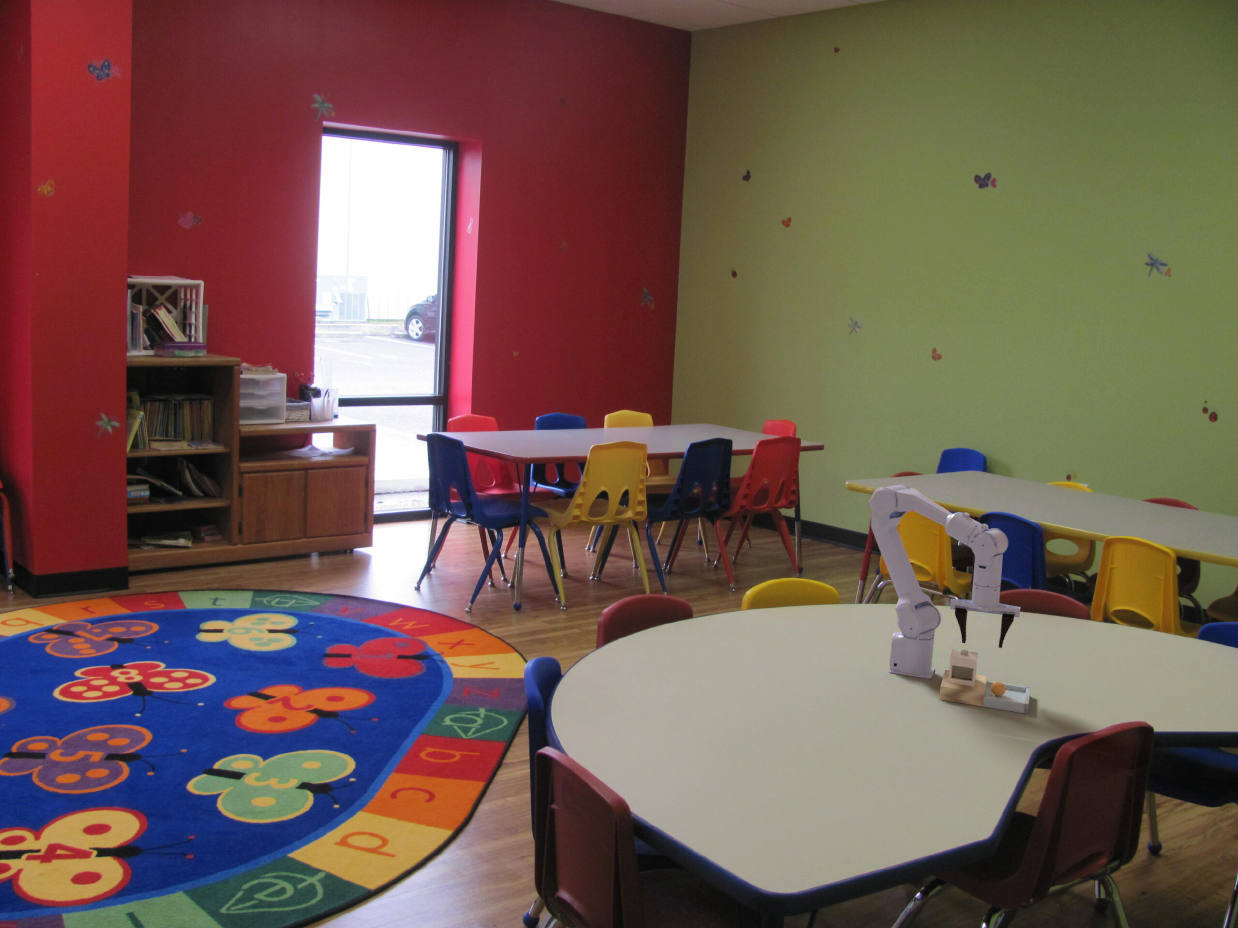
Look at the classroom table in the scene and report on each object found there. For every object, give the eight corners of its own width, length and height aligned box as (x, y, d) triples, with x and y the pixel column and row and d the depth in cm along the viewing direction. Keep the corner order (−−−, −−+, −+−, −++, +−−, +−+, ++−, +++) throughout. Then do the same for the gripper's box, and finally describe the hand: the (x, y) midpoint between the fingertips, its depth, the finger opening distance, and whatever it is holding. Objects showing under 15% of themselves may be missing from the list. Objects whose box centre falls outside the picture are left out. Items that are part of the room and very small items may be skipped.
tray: (983, 706, 231) (983, 697, 230) (986, 689, 242) (986, 680, 242) (1028, 713, 227) (1029, 704, 227) (1029, 695, 239) (1030, 687, 238)
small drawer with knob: (948, 682, 236) (950, 652, 235) (950, 675, 241) (952, 645, 240) (974, 686, 234) (976, 656, 233) (975, 678, 239) (978, 649, 238)
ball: (998, 700, 233) (987, 690, 234) (998, 696, 236) (988, 686, 237) (1008, 690, 233) (997, 680, 233) (1008, 687, 235) (997, 677, 236)
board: (939, 699, 234) (940, 685, 234) (944, 682, 245) (945, 669, 245) (983, 706, 231) (984, 692, 230) (986, 689, 242) (987, 676, 241)
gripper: (950, 584, 237) (946, 644, 239) (1021, 592, 232) (1016, 653, 234) (953, 577, 244) (949, 636, 245) (1022, 585, 238) (1017, 645, 240)
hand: (982, 644), depth 240 cm, fingers open, 7 cm apart
